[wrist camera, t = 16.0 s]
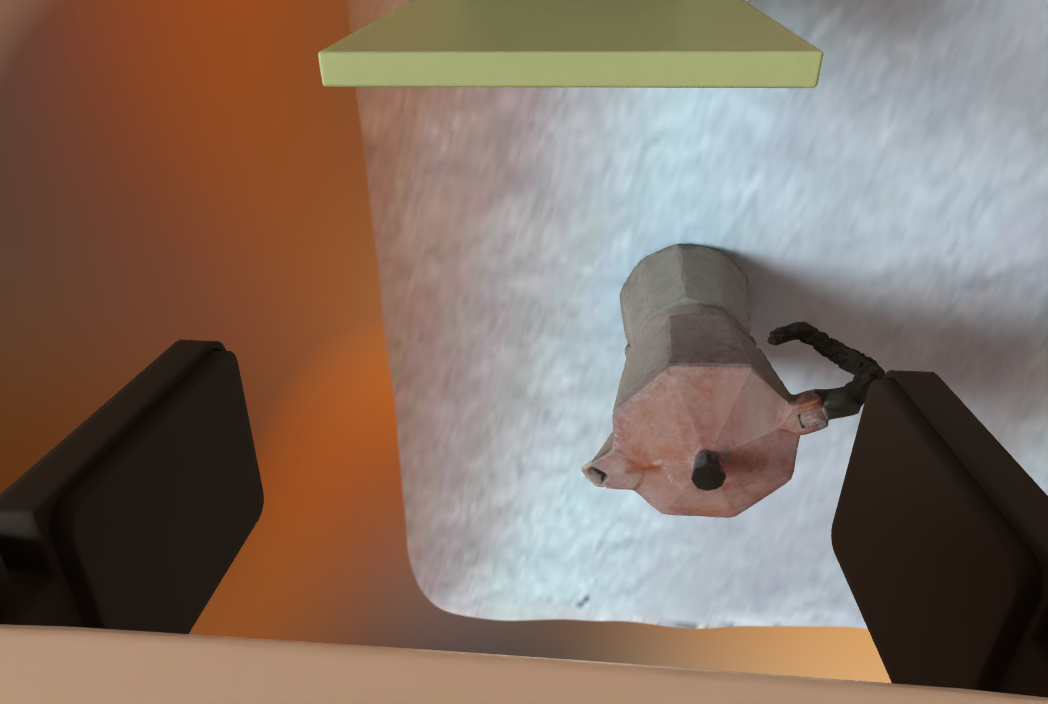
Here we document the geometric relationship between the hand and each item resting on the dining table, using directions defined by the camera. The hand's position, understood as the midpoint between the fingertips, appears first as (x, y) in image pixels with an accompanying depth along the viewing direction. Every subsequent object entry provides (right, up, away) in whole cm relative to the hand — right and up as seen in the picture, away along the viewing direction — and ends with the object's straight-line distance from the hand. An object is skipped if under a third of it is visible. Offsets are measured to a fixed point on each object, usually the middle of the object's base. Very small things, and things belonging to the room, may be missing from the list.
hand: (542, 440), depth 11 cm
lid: (+1, +13, +13) cm, 18 cm away
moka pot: (+11, +5, +39) cm, 41 cm away
